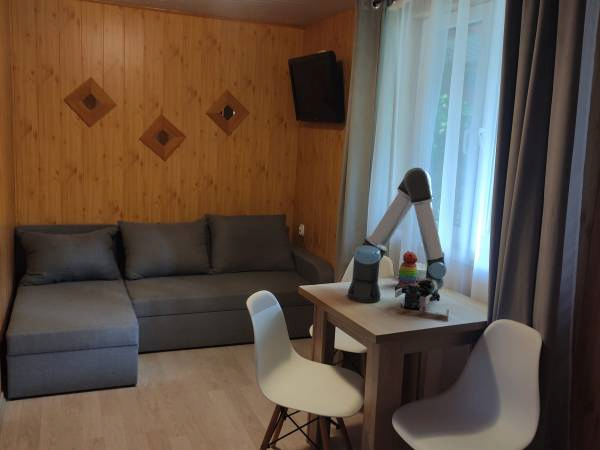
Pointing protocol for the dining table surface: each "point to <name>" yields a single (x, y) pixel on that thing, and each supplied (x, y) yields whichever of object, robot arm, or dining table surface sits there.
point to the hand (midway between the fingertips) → (410, 297)
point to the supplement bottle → (412, 297)
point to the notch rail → (423, 313)
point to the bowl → (421, 271)
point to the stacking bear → (408, 269)
